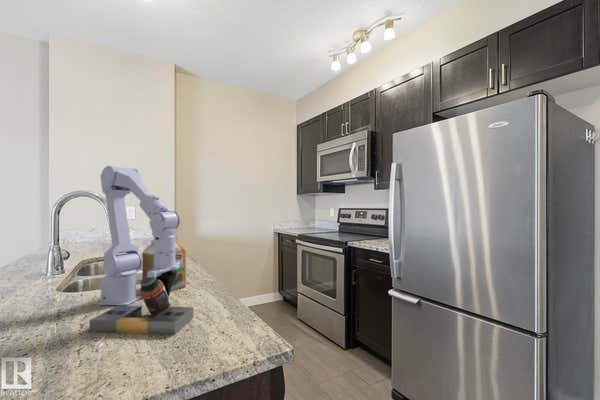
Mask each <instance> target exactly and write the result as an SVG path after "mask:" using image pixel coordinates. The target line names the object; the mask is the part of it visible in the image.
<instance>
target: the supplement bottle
mask: <svg viewBox="0 0 600 400" xmlns="http://www.w3.org/2000/svg"><path fill="white" fill-rule="evenodd" d="M139 285H140V289H139V293H140V296H141V297H142V300H143V303H144V305H145V306H146V308H147V311H148V312H149V314H150V315H151V316H153V317H155V316H156V315H158V314H159V313H161V312H162V311H163V310H165V309H166V308H168V307H172V306H171V305H172V302H171V300H170V299H171V298H170V295H169V296H168V294H167V292H166V289H165V287H164V285H163V283H162V281H160V280H158V279H156V277H153V278H147V276H146V277H144V278H143V279H141V280H140V282H139Z"/></svg>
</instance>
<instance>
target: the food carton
mask: <svg viewBox="0 0 600 400" xmlns="http://www.w3.org/2000/svg"><path fill="white" fill-rule="evenodd" d="M186 252H187V251H186V249H185V247H184V246H183V245H182V244H181V243H180V242H179V241H178V237H177V236H175V262H180V268H178V269H174V270H172V272H177V275H176V277H175V279H174V281H173V283H172V287H171V291H172V292H174V291H175V290H176V291H178V289H179V290H181V289H186V287H187V284H186V283H187V282H186V281H187V280H186V279H187V277H186V276H187V275H186V272H187V271H186V270H187V269H186V268H187V267H186V266H187V265H186V264H187V262H186V261H187V255H186V254H187V253H186ZM142 260H143V263H142V279H143V278H144V277H146V276H147V272H149V271H150V270H151V269H152V268H153V267H154V239H151V240H150V244H149V245H147V246H146V247H145V248H144V249H143V251H142ZM142 279H141V280H142ZM171 291H170V293H172V292H171ZM176 291H175V292H176Z"/></svg>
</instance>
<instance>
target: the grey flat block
mask: <svg viewBox="0 0 600 400" xmlns="http://www.w3.org/2000/svg"><path fill="white" fill-rule="evenodd" d="M142 308H143V307H142V306H141V305H115V306H114V307H113V308H110V309H108V310H107V311H105V312H103V313H100V314H98V315H97V316H95V317H92V318H90V319H89V331H88V332H89V333H107V334H109V333H110V334H140V335H141V334H142V335H143V334H145V335H147V334H148V335H176V334H178V332H180V331H181V330H182V329H183V328H184V327H186V325H187V324H189V322H190V321H191V320H193V319H194V307H193V306H170V307H168V308H166V309H165V310H163V311H162V312H161V313H159V314H158V315H156V316H153V317H142V316H143V315H142V314H143V313H142V312H143V311H142V310H143V309H142Z"/></svg>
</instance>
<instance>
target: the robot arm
mask: <svg viewBox="0 0 600 400" xmlns="http://www.w3.org/2000/svg"><path fill="white" fill-rule="evenodd" d="M99 178H100V183H101V184H100V186H101V191H102V193H103V194H104V196H105V202H106V208H107V209H106V210H107V216H108V223H109V224H108V225H109V231H110V237H111V247H109V248H108V249H107V250H106V251H105V252H104V254H103V257H104V260H103V265H102V266H103V270H104V273H105V274H106V275H105V276H104V277H103V278H102V280H101V282H100V302H98V305H99V306H100V305H101V306H129V305H130V304H132V303H134V302H136V301H138V300H140V299H141V298H142V297H141V295H137V273H139V270H140V269H141V268H142V267H143V255H141V253H140V249H139V246H136V244H133V243H132V240H131V233H130V227H129V221H128V214H127V208H126V201H125V197H126V196H127V195H129V194H131V193H132V194H133V195H134V196H135V197H136V198H137V199H138V200H139V201H140V202H139V207H140V209H141V210H142V211H143V212H144V214H145V216H146V217H148V219H149V221H148V222H149V227H150V229H151V234H152V237H153V240H154V267H153V268H152V269H151V270H150V271H149V272H147V278H153V277H156V279H158V280H160V281H162V283H163V285H164V287H165V289H166V292H167V294H168V296H169V297H170V295H171V294H170V293H171V292H170V291H171V287H172V283H173V281H174V279H175V277H176V275H177V272H172V270H174V269H178V268H180V262H175V237H176V229H178V228H179V226H180V223H181V221H180V220H181V219H180V216H179V214H178V212H177V211H176V210H171V209H169V208H168V207H167V206H166V205H165V204H164V203H163V202H162V200H161V197H160V196H159V195H155V194H151V193H150V191H149V189H148V188H147V187H146V185H145V184H144V182H143V181H142V174H141V173H140V172H139V170H138V169H137V168H126V167H118V166H113V165H107V166H105V167H104V168H103V169H102V171H101V173H100V177H99Z"/></svg>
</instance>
